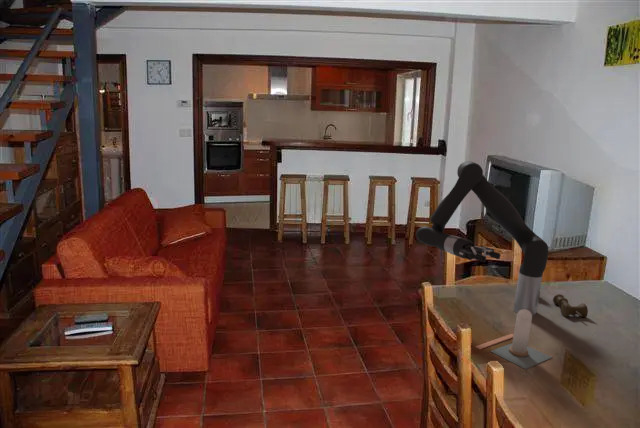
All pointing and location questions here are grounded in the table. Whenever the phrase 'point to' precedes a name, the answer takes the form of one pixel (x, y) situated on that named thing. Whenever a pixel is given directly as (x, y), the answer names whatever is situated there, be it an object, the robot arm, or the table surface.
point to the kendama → (570, 307)
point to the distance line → (495, 341)
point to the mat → (523, 362)
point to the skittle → (521, 334)
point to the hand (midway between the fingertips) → (492, 258)
